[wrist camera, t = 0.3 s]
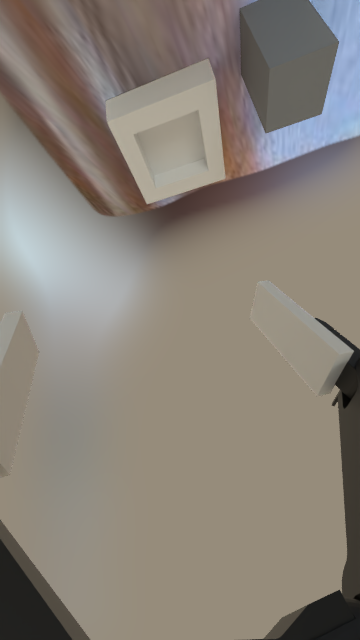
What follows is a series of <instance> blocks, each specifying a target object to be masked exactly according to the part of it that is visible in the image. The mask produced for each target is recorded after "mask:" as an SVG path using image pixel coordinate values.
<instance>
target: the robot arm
mask: <svg viewBox="0 0 360 640" xmlns="http://www.w3.org/2000/svg"><path fill="white" fill-rule="evenodd" d="M250 319H251V321H252V322H253V323H254V324H255V325H256V326H257V328H258V329H259V330H260V331H261V332H262V333H263V334H264V336H265V337H266V338H267V339H268V340H269V341H270V343H271V344H272V345H273V346H274V347H275V348H276V350H277V351H278V352H279V353H280V354H281V355H282V357H283V358H284V359H285V360H286V361H287V362H288V363H289V365H290V366H291V367H292V368H293V369H294V370H295V371H296V373H297V374H298V375H299V376H300V377H301V378H302V380H303V381H304V382H305V383H306V384H307V386H308V387H309V388H310V389H311V390H312V391H313V392H314V394H315V395H316V396H321V395H324V394H329V393H331V391H332V389H333V387H334V386H335V385H336V386H337V387H338V388H339V389H340V391H339V392H338V394H337V396H336V397H335V399H334V401H333V403H332V406H335V404H336V403H337V402H338V408H339V423H340V439H341V456H342V472H343V489H344V504H345V521H346V535H347V536H346V537H347V561H346V564H345V567H344V571H343V577H342V593H341V592H340V590H338V591H336V592H334V593H332V594H330V595H327V596H325V597H324V598H321V599H319V600H317V601H315V602H313V603H311V604H309V605H307V606H305V607H303V608H301V609H299V610H297V611H295V612H293V613H291V614H289V615H287V616H285V617H283V618H281V620H280V621H279V622H278V623H277V624H276V625H275V626H274V627H273V629H272V630H271V631H270V632H269V633H268V634H267V635H266V637H265V638H264V639H255V640H360V349H358V348H357V347H356V346H355V345H353V344H352V343H351V342H350V341H348V340H347V339H346V338H345V337H343V336H342V335H340V333H338V332H337V331H336V330H334V329H333V328H332V327H331V326H330V325H328V324H327V323H326V322H324V321H322V320H320V319H318V318H313V317H312V316H311V315H309V314H308V313H307V312H306V311H305V310H304V309H302V308H301V307H300V306H299V305H298V304H296V303H295V302H294V301H293V300H291V299H290V298H289V297H288V296H286V295H285V294H284V293H283V292H282V291H281V290H279V289H278V288H277V287H276V286H274V285H273V284H272V283H271V282H269V281H262V282H258V283H257V287H256V292H255V296H254V301H253V305H252V310H251V314H250ZM38 354H39V350H38V348H37V345H36V343H35V341H34V338H33V336H32V333H31V331H30V328H29V326H28V324H27V321H26V319H25V317H24V314H23V312H22V311H19V312H10V313H5V314H4V316H3V318H2V320H1V323H0V477H4V476H8V475H10V472H11V468H12V464H13V460H14V456H15V451H16V447H17V443H18V439H19V435H20V430H21V426H22V422H23V418H24V414H25V409H26V405H27V401H28V396H29V392H30V388H31V384H32V380H33V376H34V371H35V367H36V362H37V359H38ZM0 640H90V639H89V637H88V636H87V635H86V634H85V632H84V631H83V629H82V628H81V627H80V625H79V624H78V623H77V621H76V620H75V619H74V617H73V616H72V615H71V613H70V612H69V611H68V609H67V608H66V607H65V605H64V604H63V603H62V601H61V600H60V599H59V597H58V596H57V595H56V594H55V592H54V591H53V589H52V588H51V587H50V585H49V584H48V583H47V581H46V580H45V579H44V577H43V576H42V575H41V573H40V572H39V571H38V569H37V568H36V567H35V565H34V564H33V563H32V561H31V560H30V559H29V557H28V556H27V555H26V554H25V552H24V551H23V549H22V548H21V547H20V545H19V544H18V543H17V541H16V540H15V539H14V538H13V536H12V535H11V533H10V532H9V531H8V530H7V528H6V527H5V525H4V524H3V523H2V521H1V520H0ZM252 640H254V639H252Z"/></svg>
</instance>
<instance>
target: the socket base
mask: <svg viewBox="0 0 360 640" xmlns="http://www.w3.org/2000/svg"><path fill="white" fill-rule="evenodd" d="M106 116H107V123H108V125H109V127H110V130H111V132H112V134H113V136H114V138H115V140H116V142H117V144H118V146H119V148H120V150H121V152H122V154H123V156H124V158H125V160H126V162H127V164H128V166H129V168H130V170H131V172H132V174H133V176H134V178H135V181H136V183H137V185H138V187H139V189H140V191H141V193H142V195H143V197H144V199H145V201H146V203H147V204H149V203H153V202H156V201H159V200H162V199H165V198H168V197H171V196H174V195H177V194H180V193H183V192H186V191H189V190H192V189H196V188H199V187H202V186H205V185H208V184H211V183H214V182H217V181H220V180H223V179H225V169H224V159H223V149H222V139H221V129H220V119H219V109H218V99H217V90H216V80H215V76H214V73H213V70H212V67H211V65H210V62H209V59H208V58H207V59H205V60H203V61H200V62H198V63H195V64H193V65H191V66H188V67H186V68H183V69H181V70H179V71H176V72H174V73H171V74H169V75H167V76H164V77H162V78H159V79H157V80H155V81H152V82H150V83H147V84H145V85H143V86H140V87H138V88H135V89H133V90H131V91H128V92H126V93H123V94H121V95H119V96H116V97H114V98H111V99H109V100H107V101H106Z"/></svg>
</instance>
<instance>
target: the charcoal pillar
mask: <svg viewBox="0 0 360 640" xmlns="http://www.w3.org/2000/svg"><path fill="white" fill-rule="evenodd" d="M240 40H241V75H242V77H243V80H244V82H245V85H246V87H247V89H248V92H249V94H250V97H251V99H252V101H253V104H254V106H255V109H256V111H257V113H258V116H259V118H260V121H261V123H262V125H263V128H264V130H265V133H268V132H271V131H274V130H277V129H280V128H283V127H286V126H289V125H291V124H294V123H297V122H300V121H303V120H306V119H309V118H312V117H314V116H317V115H320V114H322V110H323V106H324V102H325V98H326V93H327V89H328V85H329V81H330V77H331V73H332V69H333V65H334V61H335V57H336V52H337V48H338V44H339V41H338V39H337V38H336V37H335V35H334V34H333V33H332V31H331V30H330V29H329V27H328V26H327V24H326V23H325V22H324V20H323V19H322V18H321V16H320V15H319V14H318V12H317V11H316V9H315V8H314V7H313V5H312V4H311V3H310V1H309V0H258V1H256V2H254V3H251V4H249V5H247V6H244V7H242V8H240Z"/></svg>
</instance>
